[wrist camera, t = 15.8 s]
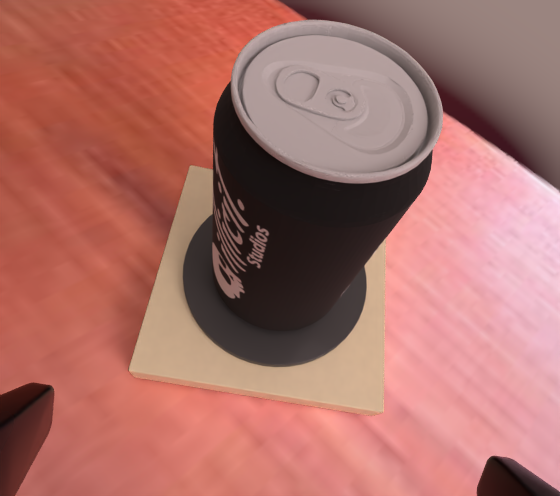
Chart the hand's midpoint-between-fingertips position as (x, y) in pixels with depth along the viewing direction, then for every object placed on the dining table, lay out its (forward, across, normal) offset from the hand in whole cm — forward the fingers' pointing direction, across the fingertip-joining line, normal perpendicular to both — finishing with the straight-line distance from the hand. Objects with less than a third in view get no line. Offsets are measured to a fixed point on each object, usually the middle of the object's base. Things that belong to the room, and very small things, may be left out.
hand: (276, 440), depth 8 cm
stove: (+15, 0, +2) cm, 15 cm away
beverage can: (+13, 0, +1) cm, 13 cm away
